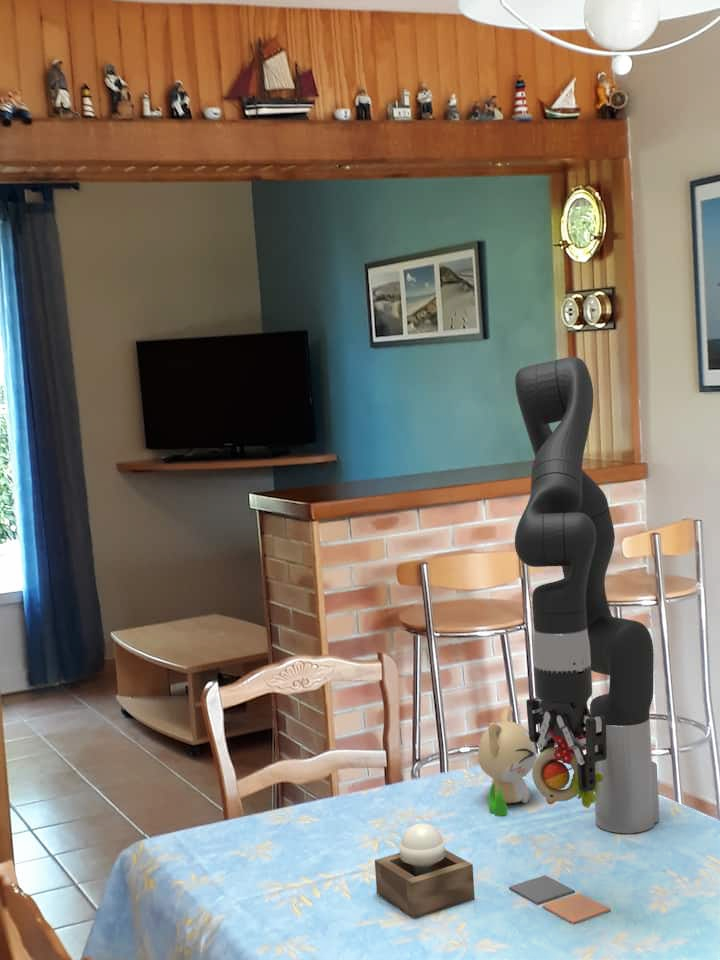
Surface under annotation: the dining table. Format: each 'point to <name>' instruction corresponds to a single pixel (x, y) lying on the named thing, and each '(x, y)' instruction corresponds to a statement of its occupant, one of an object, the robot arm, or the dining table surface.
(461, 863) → the button frame
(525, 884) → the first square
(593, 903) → the tile
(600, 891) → the dining table surface
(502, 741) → the kitten
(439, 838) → the dome button
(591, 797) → the bird rattle
